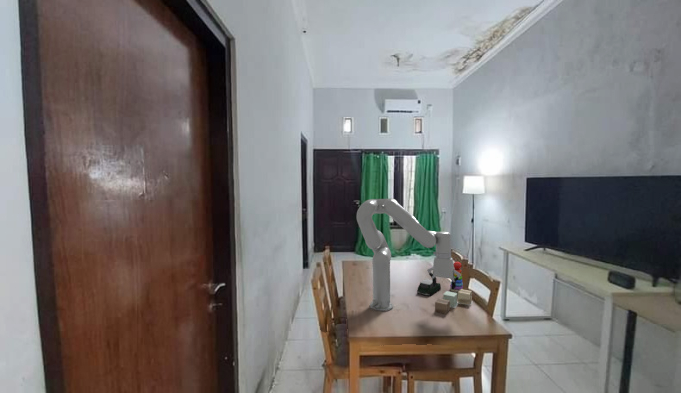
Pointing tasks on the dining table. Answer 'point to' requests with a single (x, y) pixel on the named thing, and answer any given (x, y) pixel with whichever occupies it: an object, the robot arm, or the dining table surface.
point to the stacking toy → (459, 282)
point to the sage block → (450, 298)
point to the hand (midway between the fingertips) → (443, 287)
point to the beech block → (465, 297)
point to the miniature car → (428, 287)
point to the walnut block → (442, 306)
